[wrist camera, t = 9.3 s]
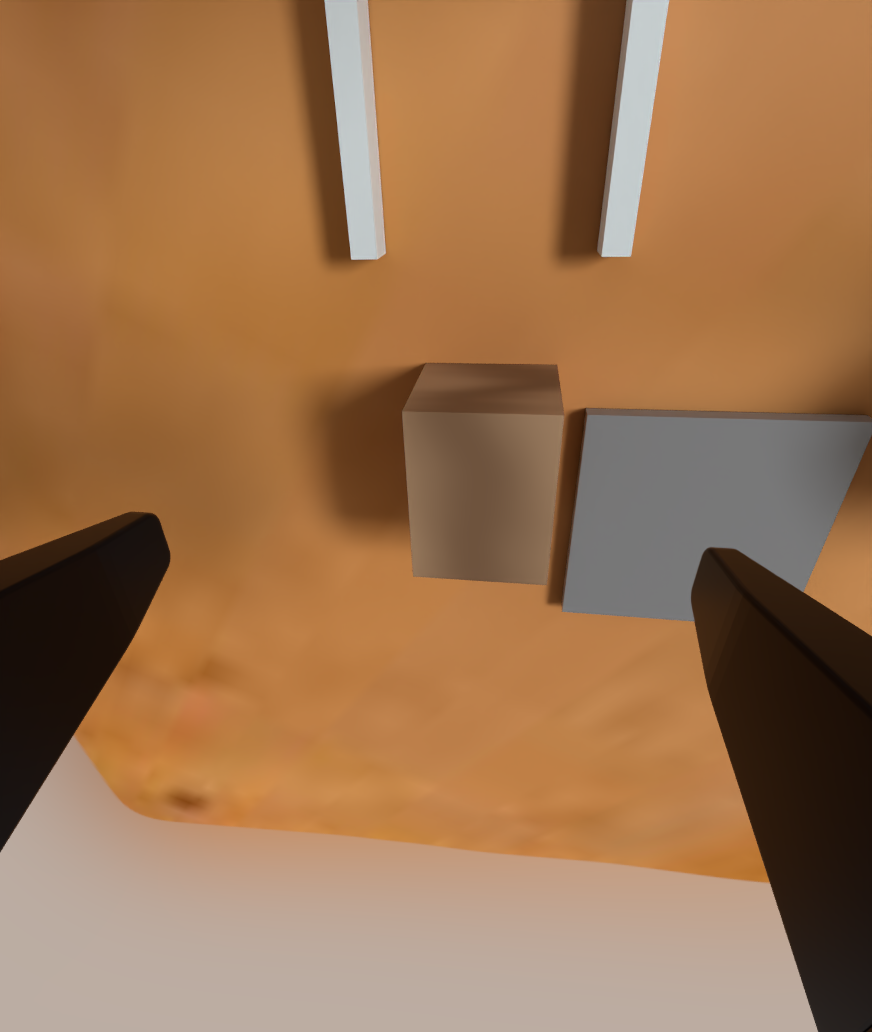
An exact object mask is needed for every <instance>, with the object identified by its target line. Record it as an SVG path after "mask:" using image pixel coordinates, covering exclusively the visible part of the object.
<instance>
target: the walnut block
mask: <svg viewBox="0 0 872 1032" xmlns="http://www.w3.org/2000/svg"><path fill="white" fill-rule="evenodd" d="M402 420H403V434H404V449H405V464H406V478H407V493H408V508H409V522H410V537H411V551H412V566H413V576H414V577H429V578H444V579H460V580H475V581H490V582H505V583H521V584H536V585H547V579H548V569H549V559H550V550H551V540H552V530H553V520H554V510H555V501H556V491H557V481H558V471H559V462H560V452H561V442H562V432H563V423H564V410H563V403H562V396H561V389H560V382H559V374H558V367H557V365H538V364H464V363H426V364H425V366H424V368H423V370H422V372H421V374H420V376H419V378H418V380H417V382H416V384H415V386H414V388H413V390H412V392H411V394H410V396H409V398H408V400H407V402H406V404H405V406H404V408H403V410H402Z"/></svg>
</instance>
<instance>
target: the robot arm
mask: <svg viewBox="0 0 872 1032" xmlns="http://www.w3.org/2000/svg"><path fill="white" fill-rule="evenodd" d="M169 563H170V550H169V547H168V544H167V541H166V538H165V535H164V532H163V529H162V526H161V523H160V521H159V519H158V517H157V516H156V515H154V514H153V513H145V512H128V513H125V514H122V515H120V516H117V517H114V518H112V519H109V520H107V521H104V522H101V523H99V524H96V525H93V526H91V527H88V528H85V529H83V530H80V531H77V532H75V533H72V534H69V535H67V536H64V537H61V538H59V539H56V540H53V541H51V542H48V543H45V544H43V545H40V546H37V547H35V548H32V549H29V550H27V551H24V552H21V553H19V554H16V555H14V556H11V557H8V558H6V559H3V560H0V852H1V850H2V849H3V847H4V846H5V844H6V842H7V841H8V839H9V838H10V836H11V834H12V833H13V831H14V829H15V828H16V826H17V825H18V823H19V821H20V820H21V818H22V817H23V815H24V813H25V812H26V810H27V809H28V807H29V805H30V804H31V802H32V801H33V799H34V797H35V796H36V794H37V792H38V791H39V789H40V788H41V786H42V785H43V783H44V781H45V780H46V778H47V777H48V775H49V773H50V772H51V770H52V768H53V767H54V765H55V764H56V762H57V761H58V759H59V757H60V756H61V754H62V753H63V751H64V749H65V748H66V746H67V744H68V743H69V741H70V740H71V738H72V736H73V735H74V733H75V732H76V730H77V728H78V727H79V725H80V724H81V722H82V720H83V719H84V717H85V716H86V714H87V712H88V711H89V709H90V708H91V706H92V704H93V703H94V701H95V700H96V698H97V696H98V695H99V693H100V692H101V690H102V688H103V687H104V685H105V684H106V682H107V680H108V679H109V677H110V676H111V674H112V672H113V671H114V669H115V668H116V666H117V664H118V663H119V661H120V660H121V658H122V656H123V655H124V653H125V652H126V650H127V648H128V646H129V645H130V643H131V641H132V640H133V638H134V636H135V634H136V632H137V630H138V628H139V626H140V624H141V622H142V620H143V618H144V616H145V614H146V612H147V610H148V608H149V606H150V604H151V602H152V600H153V598H154V596H155V593H156V591H157V589H158V587H159V585H160V583H161V581H162V579H163V577H164V575H165V573H166V571H167V569H168V567H169ZM691 606H692V611H693V616H694V621H695V627H696V632H697V637H698V642H699V648H700V653H701V658H702V663H703V669H704V674H705V679H706V683H707V688H708V691H709V695H710V698H711V702H712V705H713V708H714V711H715V714H716V717H717V721H718V724H719V727H720V730H721V733H722V736H723V739H724V742H725V745H726V748H727V751H728V755H729V758H730V761H731V764H732V767H733V770H734V773H735V776H736V779H737V782H738V785H739V789H740V792H741V795H742V798H743V801H744V804H745V807H746V810H747V813H748V816H749V819H750V823H751V826H752V829H753V832H754V835H755V838H756V841H757V844H758V847H759V850H760V853H761V857H762V860H763V863H764V866H765V869H766V872H767V875H768V878H769V881H770V884H771V887H772V890H773V894H774V897H775V900H776V903H777V906H778V909H779V912H780V915H781V918H782V921H783V925H784V928H785V931H786V934H787V937H788V940H789V943H790V946H791V949H792V952H793V955H794V959H795V961H796V965H797V968H798V971H799V974H800V977H801V980H802V983H803V986H804V989H805V993H806V995H807V999H808V1002H809V1005H810V1008H811V1011H812V1014H813V1017H814V1020H815V1023H816V1026H817V1030H818V1032H872V636H871V635H869V634H867V633H866V632H864V631H863V630H861V629H860V628H858V627H857V626H855V625H853V624H852V623H850V622H849V621H847V620H846V619H844V618H843V617H841V616H839V615H838V614H836V613H835V612H833V611H832V610H830V609H829V608H827V607H825V606H824V605H822V604H821V603H819V602H818V601H816V600H815V599H813V598H811V597H810V596H808V595H807V594H805V593H804V592H802V591H801V590H799V589H797V588H796V587H794V586H793V585H791V584H790V583H788V582H787V581H785V580H783V579H782V578H780V577H779V576H777V575H776V574H774V573H773V572H771V571H769V570H768V569H766V568H765V567H763V566H762V565H760V564H759V563H757V562H755V561H754V560H752V559H751V558H749V557H748V556H746V555H745V554H743V553H741V552H740V551H738V550H736V549H733V548H719V547H709V548H707V549H706V550H705V551H704V552H703V554H702V557H701V560H700V563H699V566H698V570H697V573H696V576H695V579H694V583H693V586H692V590H691Z"/></svg>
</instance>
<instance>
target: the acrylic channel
mask: <svg viewBox="0 0 872 1032" xmlns="http://www.w3.org/2000/svg"><path fill="white" fill-rule="evenodd" d="M324 1H325V10H326V20H327V30H328V39H329V49H330V59H331V68H332V78H333V88H334V97H335V107H336V117H337V126H338V136H339V146H340V155H341V165H342V175H343V184H344V194H345V204H346V213H347V223H348V233H349V242H350V252H351V260H363V259H379V258H380V257H381V256H383V255H384V254H386V248H385V234H384V220H383V206H382V192H381V178H380V164H379V150H378V136H377V122H376V109H375V95H374V81H373V67H372V53H371V39H370V25H369V11H368V0H324ZM668 3H669V0H627V1H626V10H625V18H624V27H623V35H622V44H621V52H620V61H619V69H618V78H617V86H616V95H615V103H614V112H613V120H612V129H611V137H610V146H609V154H608V163H607V171H606V180H605V188H604V197H603V205H602V214H601V222H600V231H599V239H598V248H597V251H598V253H599V254H600V255H601V257H631V252H632V245H633V239H634V232H635V225H636V218H637V212H638V205H639V198H640V192H641V185H642V178H643V171H644V165H645V158H646V151H647V145H648V138H649V131H650V124H651V118H652V111H653V104H654V98H655V91H656V84H657V77H658V71H659V64H660V57H661V50H662V44H663V37H664V30H665V24H666V17H667V10H668Z"/></svg>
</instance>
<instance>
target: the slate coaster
mask: <svg viewBox="0 0 872 1032" xmlns="http://www.w3.org/2000/svg"><path fill="white" fill-rule="evenodd" d="M871 435H872V418H871V417H869V416H868V415H841V414H800V413H759V412H719V411H678V410H637V409H597V408H586V412H585V420H584V428H583V435H582V443H581V451H580V459H579V467H578V475H577V483H576V491H575V499H574V507H573V515H572V523H571V531H570V539H569V547H568V555H567V563H566V571H565V579H564V587H563V595H562V612H573V613H587V614H601V615H614V616H628V617H642V618H656V619H669V620H683V621H694V616H693V611H692V606H691V590H692V586H693V583H694V579H695V576H696V573H697V570H698V566H699V563H700V560H701V557H702V554H703V552H704V551H705V550H706V549H707V548H709V547H719V548H733V549H736V550H738V551H740V552H741V553H743V554H745V555H746V556H748V557H749V558H751V559H752V560H754V561H755V562H757V563H759V564H760V565H762V566H763V567H765V568H766V569H768V570H769V571H771V572H773V573H774V574H776V575H777V576H779V577H780V578H782V579H783V580H785V581H787V582H788V583H790V584H791V585H793V586H794V587H796V588H797V589H799V590H801V591H802V592H803V591H804V589H805V587H806V585H807V582H808V580H809V578H810V575H811V573H812V571H813V568H814V566H815V564H816V562H817V559H818V557H819V555H820V552H821V550H822V548H823V546H824V543H825V541H826V539H827V536H828V534H829V532H830V529H831V527H832V525H833V523H834V520H835V518H836V516H837V513H838V511H839V509H840V507H841V504H842V502H843V500H844V497H845V495H846V493H847V491H848V488H849V486H850V484H851V481H852V479H853V477H854V474H855V472H856V470H857V468H858V465H859V463H860V461H861V458H862V456H863V454H864V452H865V449H866V447H867V445H868V442H869V440H870V438H871Z"/></svg>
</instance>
